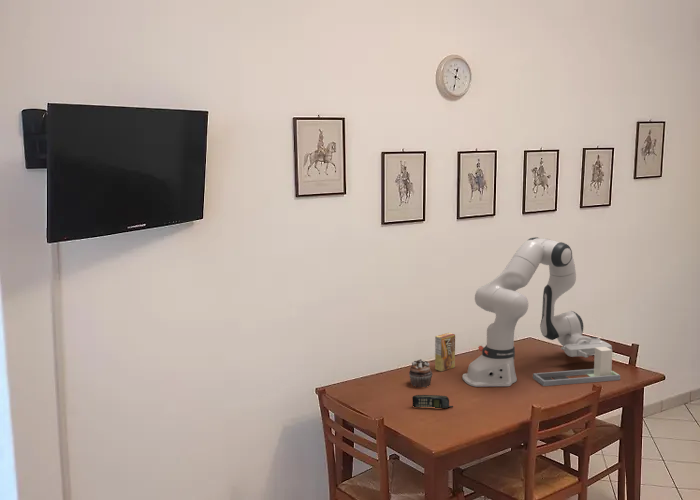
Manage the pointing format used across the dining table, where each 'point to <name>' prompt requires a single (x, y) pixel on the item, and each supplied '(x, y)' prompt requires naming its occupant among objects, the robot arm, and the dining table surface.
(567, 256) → the robot arm
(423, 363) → the cupcake
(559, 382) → the tray
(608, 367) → the ivory block
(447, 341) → the candy box
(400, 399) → the dining table surface
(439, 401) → the mobile phone
